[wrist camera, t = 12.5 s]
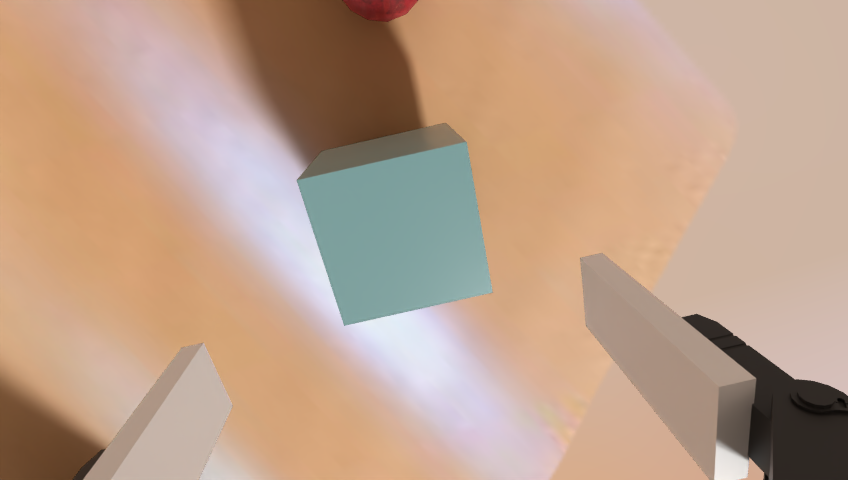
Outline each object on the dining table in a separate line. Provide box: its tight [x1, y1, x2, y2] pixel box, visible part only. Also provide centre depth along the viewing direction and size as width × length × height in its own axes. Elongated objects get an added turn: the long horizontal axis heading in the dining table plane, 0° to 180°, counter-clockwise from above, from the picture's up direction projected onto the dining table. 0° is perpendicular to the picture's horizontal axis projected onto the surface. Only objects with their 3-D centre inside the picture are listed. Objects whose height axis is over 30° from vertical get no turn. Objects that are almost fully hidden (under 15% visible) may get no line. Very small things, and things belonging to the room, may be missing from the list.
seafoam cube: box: [297, 123, 493, 326], centre depth 27 cm, size 9×9×9 cm
